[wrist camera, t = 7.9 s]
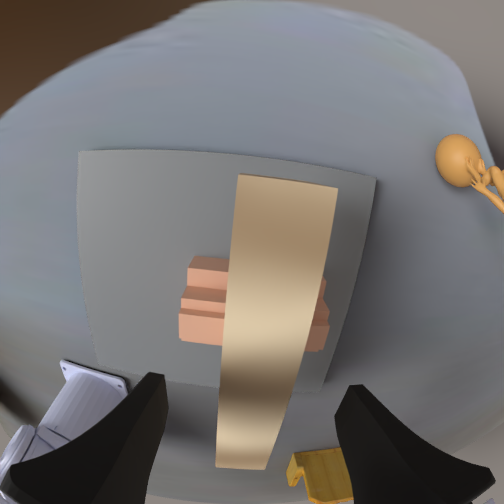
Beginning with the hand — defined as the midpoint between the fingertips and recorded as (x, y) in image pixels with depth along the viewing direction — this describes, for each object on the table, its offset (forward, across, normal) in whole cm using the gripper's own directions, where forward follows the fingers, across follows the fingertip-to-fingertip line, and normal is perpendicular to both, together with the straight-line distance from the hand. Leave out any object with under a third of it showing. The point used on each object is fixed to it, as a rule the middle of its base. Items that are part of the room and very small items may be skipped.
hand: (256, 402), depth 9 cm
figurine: (+11, -14, -11) cm, 21 cm away
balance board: (+10, +3, 0) cm, 11 cm away
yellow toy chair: (+11, -13, +25) cm, 30 cm away
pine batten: (+5, 0, 0) cm, 5 cm away
